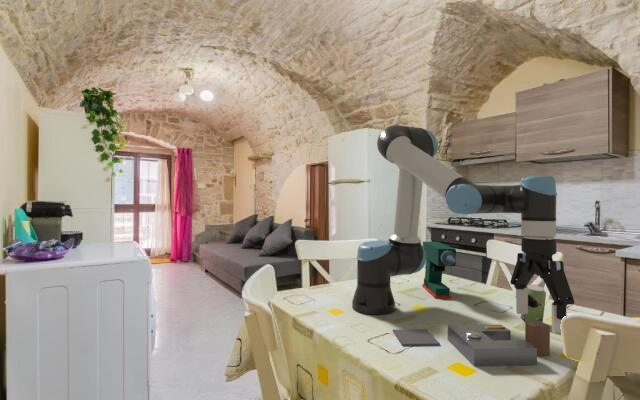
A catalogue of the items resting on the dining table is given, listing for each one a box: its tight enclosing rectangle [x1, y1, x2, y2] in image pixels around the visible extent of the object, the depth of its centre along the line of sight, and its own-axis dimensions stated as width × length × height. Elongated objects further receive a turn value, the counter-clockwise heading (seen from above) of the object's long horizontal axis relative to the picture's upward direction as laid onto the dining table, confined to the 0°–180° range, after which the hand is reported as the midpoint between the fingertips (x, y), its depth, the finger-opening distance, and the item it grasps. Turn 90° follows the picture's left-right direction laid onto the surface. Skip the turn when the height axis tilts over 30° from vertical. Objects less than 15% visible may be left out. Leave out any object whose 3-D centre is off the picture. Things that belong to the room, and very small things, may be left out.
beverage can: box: [520, 283, 547, 323], centre depth 110 cm, size 6×7×12 cm
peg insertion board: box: [447, 324, 538, 367], centre depth 89 cm, size 15×15×5 cm
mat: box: [392, 328, 441, 347], centre depth 98 cm, size 10×10×1 cm
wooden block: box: [524, 321, 551, 357], centre depth 89 cm, size 4×4×8 cm
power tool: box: [421, 241, 457, 300], centre depth 140 cm, size 32×7×20 cm, turn 179°
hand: (538, 322), depth 88 cm, fingers open, 13 cm apart
